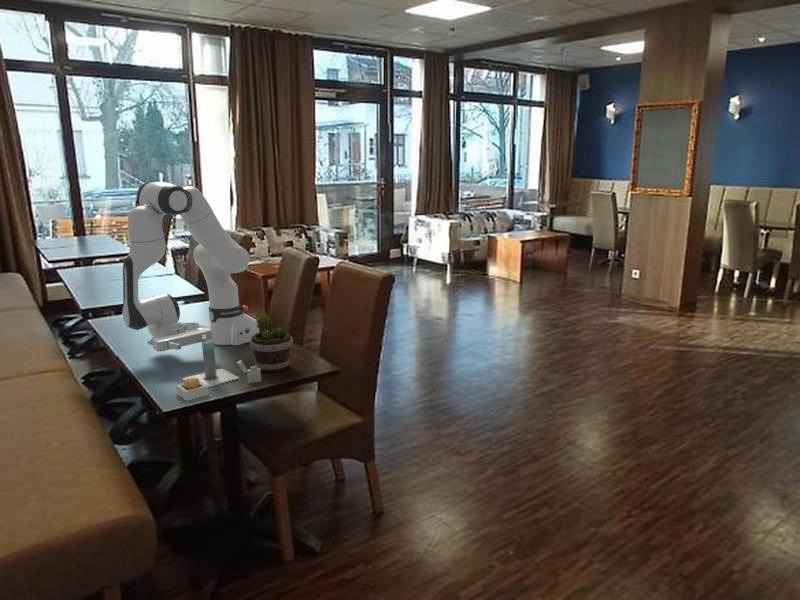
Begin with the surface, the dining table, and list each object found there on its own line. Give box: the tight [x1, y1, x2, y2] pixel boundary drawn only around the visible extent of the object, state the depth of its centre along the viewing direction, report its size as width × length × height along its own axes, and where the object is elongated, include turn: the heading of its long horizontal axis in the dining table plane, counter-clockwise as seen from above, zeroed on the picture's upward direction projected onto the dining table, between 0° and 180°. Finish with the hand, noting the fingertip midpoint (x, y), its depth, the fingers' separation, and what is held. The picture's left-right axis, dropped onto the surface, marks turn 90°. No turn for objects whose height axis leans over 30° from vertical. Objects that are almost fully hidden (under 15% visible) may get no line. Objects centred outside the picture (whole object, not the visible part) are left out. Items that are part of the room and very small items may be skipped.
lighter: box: [236, 359, 262, 384], centre depth 188 cm, size 7×2×8 cm, turn 120°
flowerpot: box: [249, 311, 294, 373], centre depth 201 cm, size 14×15×20 cm
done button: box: [183, 378, 200, 390], centre depth 178 cm, size 4×4×2 cm
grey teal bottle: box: [201, 341, 217, 380], centre depth 190 cm, size 4×4×12 cm
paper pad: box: [181, 367, 240, 388], centre depth 191 cm, size 14×12×1 cm
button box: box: [175, 381, 209, 402], centre depth 179 cm, size 7×7×3 cm
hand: (192, 343), depth 198 cm, fingers open, 8 cm apart
